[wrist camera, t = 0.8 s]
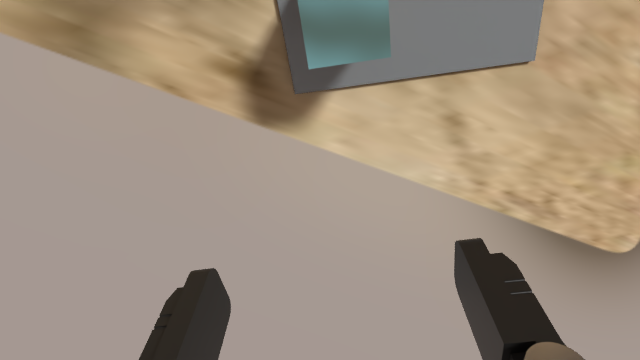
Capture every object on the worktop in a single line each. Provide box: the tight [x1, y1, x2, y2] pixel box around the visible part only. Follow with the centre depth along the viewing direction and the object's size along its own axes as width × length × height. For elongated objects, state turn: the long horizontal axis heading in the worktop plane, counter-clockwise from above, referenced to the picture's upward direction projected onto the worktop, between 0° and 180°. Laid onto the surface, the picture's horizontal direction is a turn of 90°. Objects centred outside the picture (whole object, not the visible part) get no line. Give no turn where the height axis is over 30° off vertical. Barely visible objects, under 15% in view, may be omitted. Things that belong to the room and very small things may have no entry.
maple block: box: [297, 0, 391, 69], centre depth 25 cm, size 5×5×10 cm
